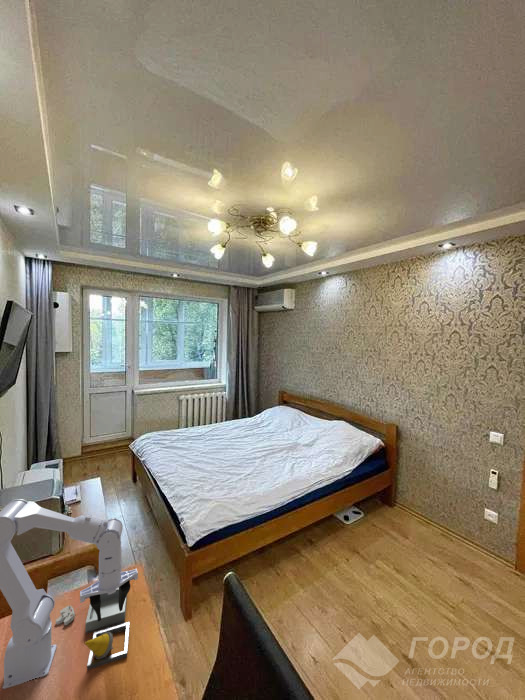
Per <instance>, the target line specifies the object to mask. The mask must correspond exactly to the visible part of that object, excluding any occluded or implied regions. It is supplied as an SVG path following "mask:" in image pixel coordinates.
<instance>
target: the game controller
mask: <svg viewBox="0 0 525 700" xmlns="http://www.w3.org/2000/svg"><path fill="white" fill-rule="evenodd" d="M88 605H89V606H90V603H88V604H87V605H86V604H82V605H80V606H79V608H81V607H83V606H88ZM75 611H77V609H74V607H73V605H67V606H65V607H64V608H62V609H60V611H59V613H60V616H59V617H58V618H56V619H55V624H56V625H60V624H62V623H64V626H68V625H69V624H70V623H71V622H72V621H73V620H75V617H76V613H75Z"/></svg>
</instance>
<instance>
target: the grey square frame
mask: <svg viewBox="0 0 525 700" xmlns="http://www.w3.org/2000/svg"><path fill="white" fill-rule="evenodd" d="M124 631H125V635H124V636H125V637H124V647H123V649H124V650H123V651H119V652H117V653H114V654H111V655H110V654H109V655H107V656H106V657H104V658H101V659H95V660H93V659H94V653H93V652H92V651H91V650H90V649H89V655H88V661H87V664H86V665H87V667H86V669H87V671H89V670H91V669H94V668H97V667H101V666H105V665H108V664H110V663H114V662H117V661H119V660H122V659H126V658H128V651H129V636H130V621H128V622H125V623H122V624H118V625H115V626H111V627H108V628H104V629H100V630H97V631H93V635H92V639H94V638H96V637H99V636H101V635H102V634H103V633H105V632H110V633H112V635H114V634H117V633H121V632H124Z"/></svg>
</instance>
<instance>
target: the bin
mask: <svg viewBox="0 0 525 700" xmlns="http://www.w3.org/2000/svg"><path fill="white" fill-rule="evenodd" d="M100 599H101V607H100V612H101V621H99V622H98V618H97V614H96V612H95V610H94V609H93V608H92V607H91V604H90V603H89V607H88V610H87V616H86V620H85V631H84V632H85V634H90V633H92V632H93V633H94V632H97V631H100V630H104V629H107V628H110V627H114V626H117V625H120V624H123V623H126V621H125V620H126V613H127V600H128V595H127V596H126V598H125V601H124V605H123V609H122V611H120V610H119V587H118V588H117V589H116V592H114V593H112V594H110V595H108V593H104V594H100Z"/></svg>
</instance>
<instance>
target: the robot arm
mask: <svg viewBox="0 0 525 700" xmlns="http://www.w3.org/2000/svg"><path fill="white" fill-rule="evenodd" d="M123 527H124V525H123V522H122V521H121V520H120V519H117V518H116V517H114V518H109V519H99V518H96V517H92V515H91V514H86V515H84V514H81V515H79V516H76V517H72V516H69V515H66V514H63V513H60V512H57V511H54V510H51V509H49V508H46V507H45V508H44V507H41V506H40V505H39V504H37V502H35V501H31V500H30V501H27V500H26V499H23V498H15V499H13V500H11V501H9V502H8V503H6V505H5V506H4V507H3V508H2V509H1V510H0V591H1V593H2V595H3V597H4V598H5V599H6V602H7V604H8V605H9V607H10V609H11V610H12V613H11V620H10V626H9V629H10V630H11V632H12V637H10V639H9V641H8V643H7V646H6V648H5V649H6V650H5V653H4V658H3V684H2V689H3V690H5V689H8V688H11V687H15V686H17V685H21V684H24V682H25V683H28V682H30V681H29V680H31V681H33V680H32V679H34V680H36V679H35V678H37V679H39V677H40V678H42V677H45V676H47V675H48V674H49V672H50V669H51V665H52V662H53V659H54V657H55V653H56V650H57V646H58V645H57V644H55V643H54V644H52V634H53V633H52V631H53V629H52V626H53V625H52V623H53V622H52V620H51V614H52V611H53V609H54V608H55V604H56V600H55V598H54V597H53V596H52V595H50V594H48V593H47V592H46V591H45V589H44V588H40V589H37V588H36V586H35V584H34V582H33V580H32V579H31V577H30V575H29V573H28V571H27V569H26V568H25V565H24V564H23V562H22V560H21V558H20V557H19V555H18V553H17V551H16V549H15V548H14V546H13V544H12V542H11V541H12V540H13V537H14V536H15V534H16V536H20V535H22V534H25V532H28V531H30V530H32V529H34V528H38V529H43V530H50V531H57V532H62V533H67V535H68V537H69V538H70V539H71V540H75V541H79V542H84V543H89V544H93V545H95V546H96V548H97V549H98V550H99V552H98V580H97V581H96V582H94V583H92V584H91V585H90V586H88V587H86V588H84V589H82V590H80V591H79V601H80V604H82V603H84V602H85V601H86V600H87V599H89V605H90V604H91V607H92V608H93V609H94V610H95V612H96V614H97V618H98V622H99V621H101V612H100V607H101V599H100V594H104V593H108V595H110V594H112V593H114V592H116V589H117V588H119V610H120V611H122V609H123V605H124V601H125V598H126V596H127V597H128V594H129V592H130V591H131V590H130V589H131V581H132V580H133V581H136V580H138V579H139V571H138V569H137V568H135V569H131V570H126V571H122V540H121V539H122V534H123V529H124V528H123ZM16 532H17V533H16ZM27 681H28V682H27Z"/></svg>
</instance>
